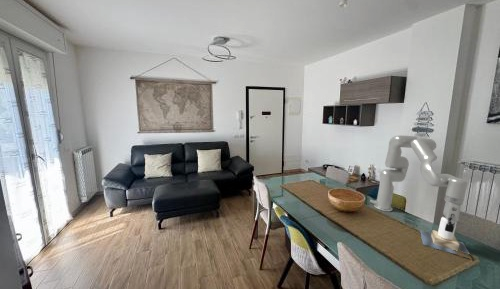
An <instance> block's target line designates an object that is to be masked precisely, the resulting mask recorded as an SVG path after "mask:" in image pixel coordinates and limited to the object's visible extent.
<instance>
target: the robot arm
mask: <svg viewBox="0 0 500 289" xmlns="http://www.w3.org/2000/svg"><path fill="white" fill-rule="evenodd" d="M402 148H409V149H410V148H411V149H412V150H413V152H414V153H415V155H416V156H417V158H418V160H419V161H420V168H419V169H420V174H421V176H422V177H423V179H424V181H426V183H427V184H428V185H429V186H431V187H443V188H444V187H446V190H445V195H444V199H443V200H444V201H445V204H444V207H443V211H442V212H443V213H442V214H443V215H444V216H445V218H446V219H447V224H446V227H445V231H448V232H453V230H454V226H455V222H457V223H458V222H459V219H460V214H461V206H463V204H464V200H465V196H466V194H467V193H466V192H467V188H468V186H469V185H468V184H469V182H468V180H466V179H463V178H460V177H456V176H454V175H452V174H450V173H436V170H434V169H433V168H434V167H433V166H432V163H434V162H435V161H436V160H437V158H438V156H437V154H436V153H435V152H434V150H436V148H437V142H436V141H435V140H433V139H431V138H427V137H422V136H415V135H414V136H413V135H394V136H392V137H391V138H390V140H389V142H388V150H387V154H386V156H385V157H386V158H385V161H384V164H385V167H386V169H382V170H381V171H380V172H379V186H378V192H377V197H376V200H373V199H370V200H369V202H370V203H372V204H373V207H374V208H376V209H378V210H380V211H383V212H392V211H393V208H392V207H391V206H392V200H393V195H394V190H395V189H394V188H395V187H394V184H393V183H394V182H395V183H400V182H403V181H404V180H405V179H406V177H407V174H408V173H407V172H408V169H409V160H408V158H407V157H405V156H402V153H403V152H402ZM387 168H388V169H387ZM449 221H450V222H449Z"/></svg>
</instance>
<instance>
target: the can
mask: <svg viewBox="0 0 500 289" xmlns="http://www.w3.org/2000/svg"><path fill="white" fill-rule="evenodd" d="M449 222H450V221H449ZM457 223H458V222H455V226H454V230H453V232H448V231H445V227H446V224H447V219H446V218H445V216H444V214H443V215H442V217H441V218H440V222H439V225H438V226H439V227H438V229H437V230H438V236H440V237H441V238H443V239H446V240H452V239H453V236H455V231H456V227H457Z"/></svg>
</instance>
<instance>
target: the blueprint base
mask: <svg viewBox="0 0 500 289" xmlns="http://www.w3.org/2000/svg"><path fill="white" fill-rule="evenodd" d="M420 233H421V234H420ZM419 234H420V237H421V240H422V245H423V246H425V247H428V248H432V249H434V248H435V250H437V249H439V250H438V251H440V250H443V251H446V252H445V253H447V252H450V253H454V254H457V252H455V251H453V250H456V251H458V249H460V250H461V251H463V252H465V253H468V254H470V255H471V253H470V252H469V250H468V249H467V246H466V245H465V244H464V242H462V241H459V240H458V239H457V238H456V236H455V235H454V236H453V239H452V240H446V239H443V238H441V237H440V236H438V231H437V230H435V229H432V230H431V232H428V231H426V230H425V231H424V230H422V229H420V230H419ZM443 251H442V252H443ZM450 253H449V254H450ZM459 255H460V254H459Z"/></svg>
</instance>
